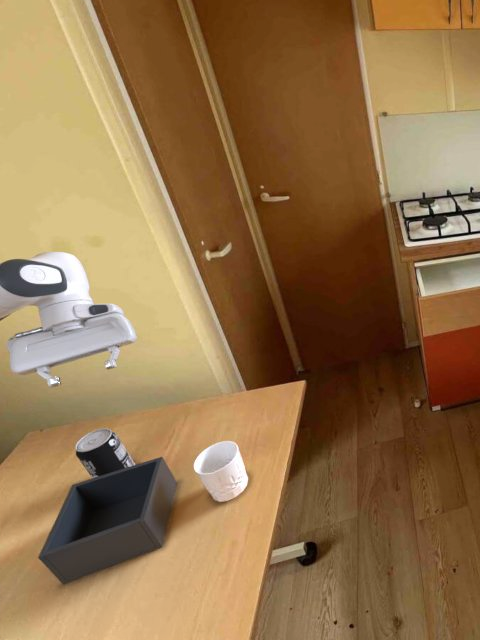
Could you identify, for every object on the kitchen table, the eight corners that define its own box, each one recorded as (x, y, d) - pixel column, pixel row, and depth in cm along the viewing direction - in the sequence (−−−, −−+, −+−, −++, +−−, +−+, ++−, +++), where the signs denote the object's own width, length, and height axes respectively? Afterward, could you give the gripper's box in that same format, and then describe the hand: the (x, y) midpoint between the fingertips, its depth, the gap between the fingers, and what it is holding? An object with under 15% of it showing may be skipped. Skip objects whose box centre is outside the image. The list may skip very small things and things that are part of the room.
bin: (63, 584, 75) (37, 557, 71) (92, 511, 87) (71, 484, 83) (162, 546, 81) (144, 519, 77) (177, 482, 93) (162, 456, 89)
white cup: (238, 464, 97) (225, 435, 92) (258, 481, 93) (245, 451, 88) (202, 493, 91) (185, 462, 86) (221, 512, 87) (205, 481, 82)
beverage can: (90, 486, 92) (63, 449, 86) (121, 460, 98) (98, 423, 92) (113, 493, 91) (88, 456, 85) (144, 466, 96) (121, 429, 91)
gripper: (-5, 333, 88) (9, 396, 86) (122, 301, 99) (136, 356, 96) (13, 339, 93) (26, 398, 91) (131, 308, 104) (145, 360, 101)
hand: (84, 376), depth 94 cm, fingers open, 8 cm apart
